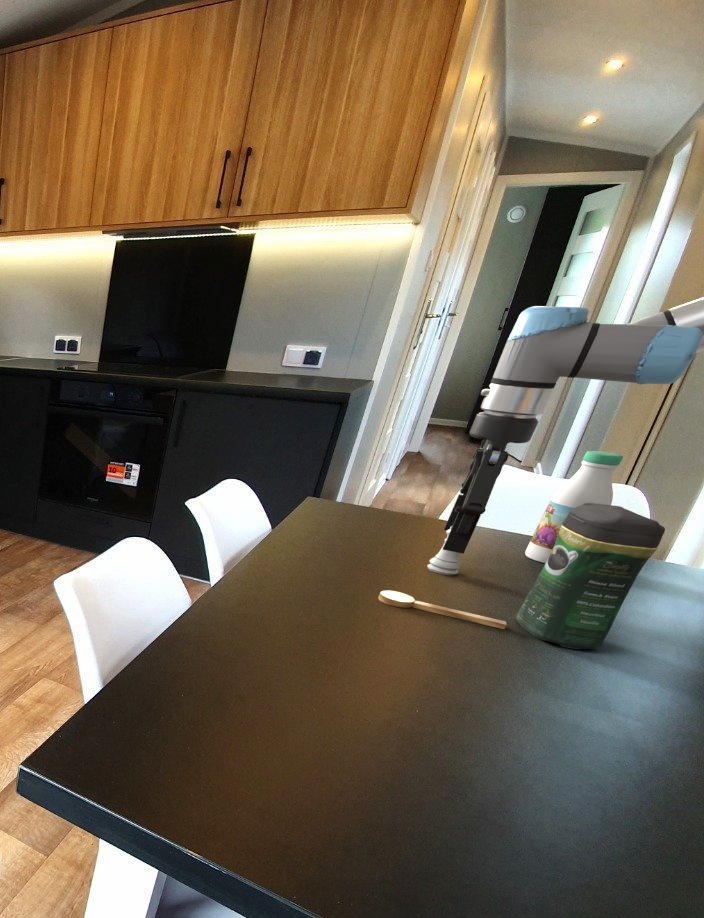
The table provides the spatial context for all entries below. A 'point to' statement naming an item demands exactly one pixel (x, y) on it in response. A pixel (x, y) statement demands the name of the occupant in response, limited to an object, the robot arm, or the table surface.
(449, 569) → the rook chess piece
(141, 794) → the table surface
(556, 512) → the milk bottle
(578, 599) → the coffee jar
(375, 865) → the table surface
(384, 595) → the wooden spoon
